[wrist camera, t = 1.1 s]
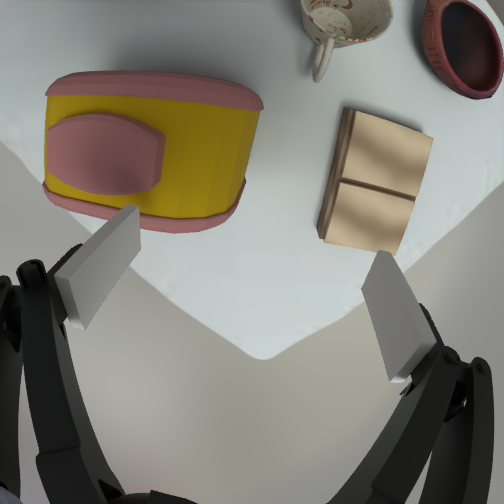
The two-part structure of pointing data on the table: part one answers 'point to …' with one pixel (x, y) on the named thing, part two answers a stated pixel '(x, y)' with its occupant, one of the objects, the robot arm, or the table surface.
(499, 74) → the bowl
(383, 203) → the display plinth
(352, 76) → the table surface
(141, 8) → the table surface
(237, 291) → the table surface
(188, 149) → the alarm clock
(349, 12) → the mug
